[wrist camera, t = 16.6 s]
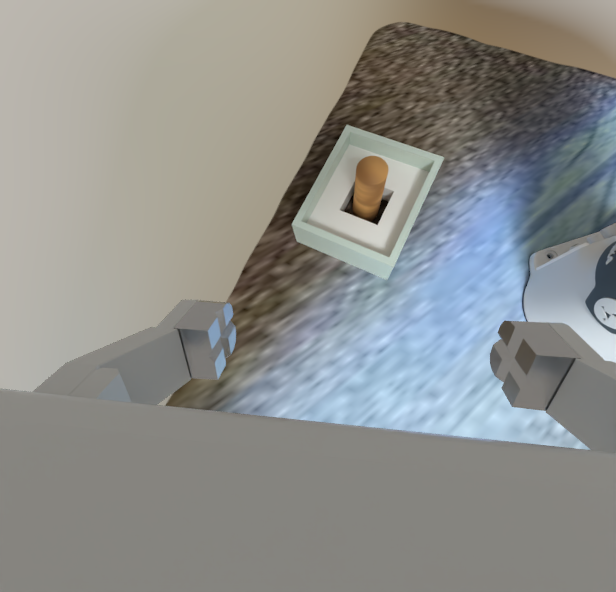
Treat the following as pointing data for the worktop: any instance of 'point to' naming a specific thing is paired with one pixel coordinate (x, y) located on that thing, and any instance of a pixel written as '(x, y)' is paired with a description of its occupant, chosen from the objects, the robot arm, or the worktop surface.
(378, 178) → the peg
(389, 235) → the bore box
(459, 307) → the worktop surface
